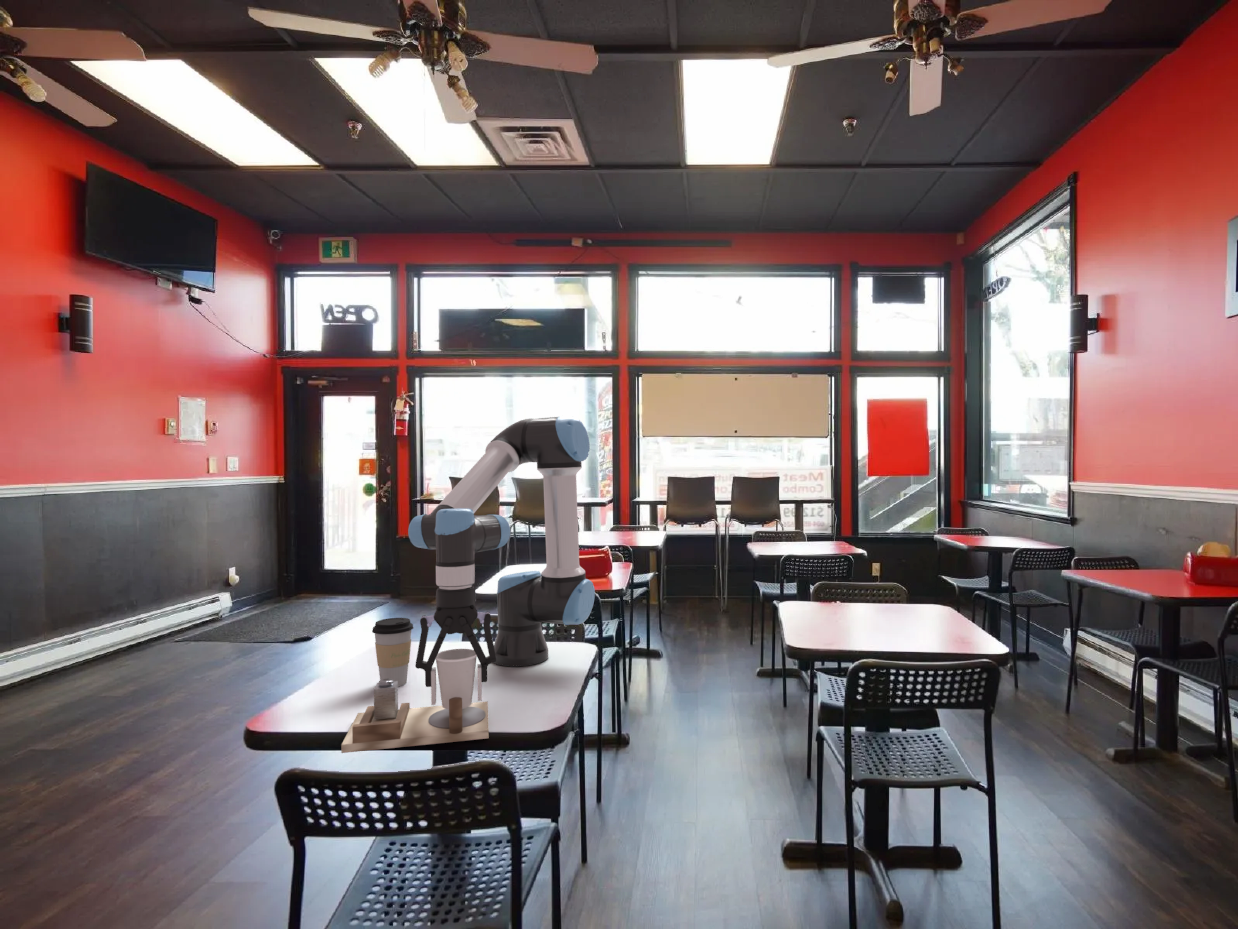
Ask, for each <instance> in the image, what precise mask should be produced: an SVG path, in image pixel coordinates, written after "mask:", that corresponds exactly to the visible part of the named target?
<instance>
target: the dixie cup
mask: <svg viewBox="0 0 1238 929" xmlns="http://www.w3.org/2000/svg"><path fill="white" fill-rule="evenodd" d="M477 658H478V657H477V655H476V653H475V651H474V649H473V648H454V649H453V648H452V649H448V650H442V651H439V652H438V654H437V657H436V658H435V664H436V672H437V678H438V684H439V692H440V700H441V706H442V707H443V708H445V709H449V699H451V698H454V697H461V698H462V709H463V708H466V707H468V706H470V705H471V704H472V703H473V694H474V693H473V691H474V684H475V675H476V667H477Z"/></svg>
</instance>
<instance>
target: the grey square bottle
mask: <svg viewBox="0 0 1238 929" xmlns="http://www.w3.org/2000/svg"><path fill="white" fill-rule="evenodd" d="M373 706H374V720H375V719H386V718H396V715H397V712H398V709H399V686H398V681H393V679H383V680H380V679H379V681H378V682H376V684H375V686H374V688H373Z"/></svg>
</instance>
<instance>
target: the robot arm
mask: <svg viewBox="0 0 1238 929" xmlns="http://www.w3.org/2000/svg"><path fill="white" fill-rule="evenodd" d="M590 446H591V445H590V437H589V433H588V431H587V429H586V427H585V425H584V424H583V422H582V421H581V420H580V419H579V418H577V417H574V416H563V415H562V416H554V417H553V416H552V417H551V416H550V417H539V418H525V419H521V420H519V421H517V422H514V423H513V424H510V425H509V426H507V427H506V428H505V429H502V431H500V432H499V433H498V434H497V435H495V437H494V438H493V439H491V441H490V442H489V443H487V445H486V446H485V450H484V451H485V453H484V454H483V455H482V456H481V457H480V458H479V460H478V461H477V462H476V463H475V464H474V465H473V466H472V467H471V469H469V470H468V472H467V473H466V474H465V475H464V476H463V477H462V478H461V480H460V481H459V482H458V483H457V484H455V486H454V487H453V488H452V489H451V490H450V492H448V494H447V495H446V496H445V497H444V498H443V499H442V501H440V503H439V504H438V505H437V506H436V507H435V508H434V509H433V510H432V511H431V512H430V513H429V514H427V513H424V514H422V515H421V514H420V515H419V514H418V515H416V516H414V517H413V518H412V519H411V520H410V523H409V525H408V530H407V531H408V532H407V533H408V539H409V541H410V543H411V545H413V546H414V547H416V548H419V549H420V548H421V549H427V550H435V554H436V555H435V557H436V558H435V559H436V560H435V561H436V562H435V584H436V586H437V589H436V590H435V598H436V600H435V604H436V606H435V607H436V610H435V612H434V614H431V615H426V614H425V615H422V616H420V620H419V624H420V628H421V631H420V632H421V633H420V636H419V642H418V648H417V653H416V659H415V660H416V661H415V664H414V665H415V668H416V669H417V670H418V669H421V670H423V672H424V675H425V676H424V677H425V678H424V682H425V683H424V684H425V688H430V690H431V692H430V693H431V697H430V698H431V699H430V700H431V702H430V704H431V706H436V703H437V666H436V667H433V666H434V663H435V662H436V659H435V658H436V657H437V654H438V653H440V649H441V647H442V645H443V643H444V640H445V638H446V637H447V635H454V634H460V635H461V634H465V636H466V638H467V639H468V641H469V643H470V645H471V647H472V650H474V651H475V653H476V655H477V657H476V658H477V660H478V662H479V663H476V667H477V669H476V670H477V702H483V701H482V700H483V699H482V698H483V696H482V695H483V694H482V693H483V692H482V685H483V684H482V683H487V682H488V666H489V665H491V664H496V665H498V666H502V667H503V666H504V667H525V666H532V665H533V666H534V665H537V664H541V663H544V662H545V661H547V660H548V659H549V648H548V645H547V641H546V638H545V635H544V632H543V628H542V623H548V624H549V623H550V624H560V625H565V626H569V625H580V624H581V625H582V624H583V623H584V622H585V621H587V619H588V618H589V616H590V614H591V612H592V611H593V610H592V609H593V607H594V602H595V597H596V594H595V592H596V591H595V586H594V583H593V581H592V580H590V579H588V578H586V570H585V569H584V568H583V567H582V566H581V565H580V548H579V519H578V518H579V517H578V493H577V474H578V472H580V470H581V469H582V462H584V461H586V459H587V458H588V457H589V452H590V450H591V449H590ZM528 463H536V470H537V471H538V472H539V473H540V474H542V478H543V500H544V501H543V502H544V503H543V504H544V505H543V506H544V507H543V508H544V527H545V529H544V532H545V554H546V555H545V556H546V558H545V559H546V567H545V568H544V569H543V570H542V572H541V571H540V570H530V571H523V572H516V573H510V574H506V575H503V576H501V577H500V578H499V580H498V581H497V590H496V595H497V634H496V637H495V641H494V639H493V635H492V628H491V625H490V624H491V618H492V614H491V612H490V611H485V612H481V611H478V610H477V608H476V587H475V586H474V585H475V581H476V579H475V578H476V576H475V575H476V572H475V570H476V569H475V568H476V565H475V563H476V562H475V554H476V553H480V552H485V551H494V550H496V549H499V548H502V547H504V546H506V544H508V542H509V540H510V537H511V527H510V523H509V522H508V520H507V519H506V518H505V517H504V516H502V515H499V514H493V513H492V514H490V513H489V514H486V515H484V514H483V515H475V513H476V512H477V510H478V509H479V508H480V507H481V506H482V505H483V503H484V502H485V501H486V500H487V498H488V497H489V496H490V495H491V494H492V492H494V490H495V489H496V488H497V487H498V485H499V484H500V483H501V481H502V480H503V479H504V478H505V476H507V474H508V473H510V472H511V473H512V472H514V471H515V470H516V469H517V468H518V467H519V466H520V465H523V464H528ZM477 619H478V620H479V622H480V624H482V625H483V631H484V632H483V633H484V636H485V642H486V648H487V651H488V652H487V653H488V656H486V655H485V653H484V650H483V649H482V647H481V644H480V642H479V640H478V638H477V636H476V634H475V632H474V629H473V628H472V625H473V624H474V623H475V621H476V620H477ZM434 621H435V623H436V624H437V625H438V626H439V627H440V630H439V633H438V636H437V638H436V641H435V642H434V645H433V647H432V650H431V652H430V654H429V657H428V659H427V661H425V660H424V659H425V658H424V657H425V651H426V647H427V641H428V635H429V628H431V627H432V624H433V622H434Z"/></svg>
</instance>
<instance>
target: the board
mask: <svg viewBox="0 0 1238 929" xmlns="http://www.w3.org/2000/svg"><path fill="white" fill-rule="evenodd" d="M488 703H489V702H488V701H477V702H472V704H471V705H470V706H468V707H466V708H463V709H462V698H461V697H454V698H451V699H449V709H445V708H443V707H442V705H431V706H422V707H411V706H410V704H411V703H410V702H402V703H401V704H400V707H399V708H398V712H397V715H396V718H386V719H375V720H374V705H368V706H367V707H366V709H365V711H364V712H358V713H357V714H356V716H355V718H354V719H353V722H352V724H351V726H350V727H349V730H348V732H347V733H346V735H345V737H344V739H343V741H342V742H341V744H340V746H341V750H340V751H341V752H340V753H341V754H346V753H354V752H355V753H356V752H367V751H374V750H384V749H395V748H404V747H405V748H406V747H415V746H416V747H417V746H426V745H436V744H445V743H446V744H447V743H453V742H465V741H474V740H476V741H477V740H483V739H484V740H485V739H490V738H489V737H490V735H489V734H490V733H489V731H490V728H489V704H488ZM410 707H411V708H410Z"/></svg>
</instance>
